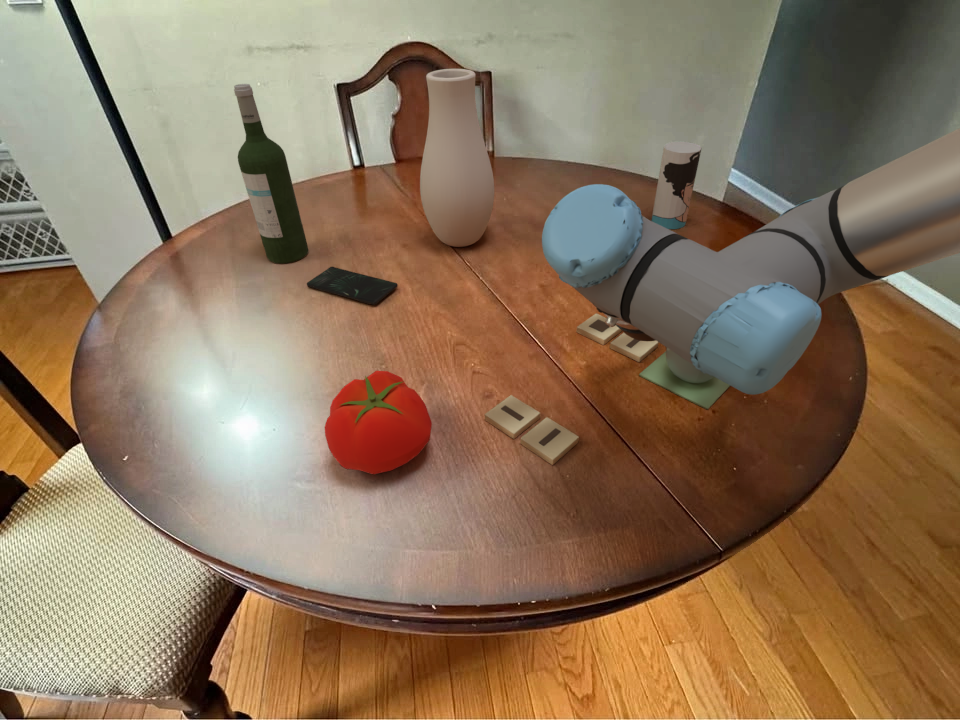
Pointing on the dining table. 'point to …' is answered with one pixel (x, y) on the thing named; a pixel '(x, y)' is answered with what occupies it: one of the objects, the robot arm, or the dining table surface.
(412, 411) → the tomato
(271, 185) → the wine bottle
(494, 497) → the dining table surface
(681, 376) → the cup
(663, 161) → the cup
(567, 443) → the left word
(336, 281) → the smartphone
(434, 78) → the vase
